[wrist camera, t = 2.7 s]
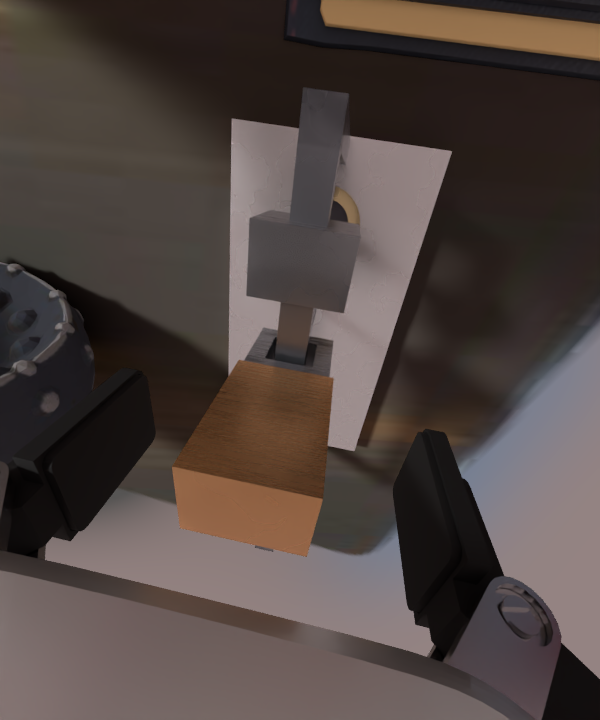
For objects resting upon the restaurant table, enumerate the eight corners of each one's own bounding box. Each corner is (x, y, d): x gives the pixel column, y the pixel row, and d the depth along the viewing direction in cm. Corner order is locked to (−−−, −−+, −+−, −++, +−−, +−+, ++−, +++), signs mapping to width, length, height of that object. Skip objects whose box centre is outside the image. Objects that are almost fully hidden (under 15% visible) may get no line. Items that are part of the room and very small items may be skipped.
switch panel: (240, 122, 18) (83, 42, 7) (444, 153, 17) (589, 112, 7) (233, 414, 30) (169, 542, 19) (354, 439, 29) (355, 585, 19)
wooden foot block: (286, 282, 20) (171, 466, 7) (341, 292, 20) (323, 499, 7) (282, 319, 21) (180, 528, 9) (333, 328, 21) (306, 556, 8)
